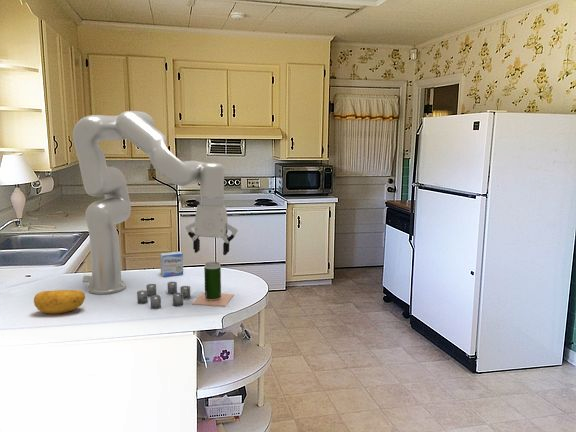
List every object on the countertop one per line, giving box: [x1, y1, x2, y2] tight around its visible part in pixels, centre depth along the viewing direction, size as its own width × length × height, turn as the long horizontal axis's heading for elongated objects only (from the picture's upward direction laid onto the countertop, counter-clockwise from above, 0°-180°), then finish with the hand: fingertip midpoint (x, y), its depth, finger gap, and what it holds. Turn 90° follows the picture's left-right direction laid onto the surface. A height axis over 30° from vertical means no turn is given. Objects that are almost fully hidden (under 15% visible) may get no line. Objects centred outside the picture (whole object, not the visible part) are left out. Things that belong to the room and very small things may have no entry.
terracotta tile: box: [191, 291, 235, 307], centre depth 162 cm, size 11×11×1 cm
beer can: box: [203, 261, 222, 301], centre depth 161 cm, size 5×5×12 cm
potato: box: [33, 289, 86, 315], centre depth 149 cm, size 7×14×7 cm, turn 100°
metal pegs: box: [136, 281, 191, 310], centre depth 161 cm, size 15×17×4 cm
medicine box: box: [159, 251, 184, 278], centre depth 188 cm, size 8×4×9 cm, turn 117°
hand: (211, 252), depth 159 cm, fingers open, 9 cm apart
